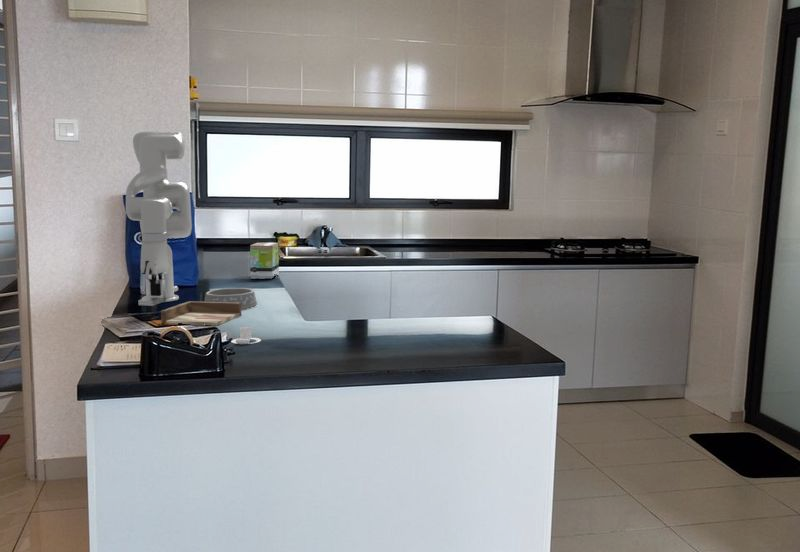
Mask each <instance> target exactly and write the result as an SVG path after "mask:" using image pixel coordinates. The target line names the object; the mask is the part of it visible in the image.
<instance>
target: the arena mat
mask: <svg viewBox="0 0 800 552" xmlns="http://www.w3.org/2000/svg"><path fill="white" fill-rule="evenodd" d="M239 315H240V314H239V313H226V312H195V311H191V312H189V313H186V314H183V315H180V316H178V317H175V318H172V319H170V320H167V321H166V323H182V324H191V325H190V326H205V325H211V327H217V326H219V325H222V324H225V323H226V322H229V321H231V320H234V319H236V318H238V317H240V316H239ZM160 322H161V323H164V322H162V321H160ZM204 324H205V325H204Z"/></svg>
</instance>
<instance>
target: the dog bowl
mask: <svg viewBox="0 0 800 552" xmlns="http://www.w3.org/2000/svg"><path fill="white" fill-rule="evenodd" d="M204 296H205V297H204V302H232V303H241V309H243V310H248V309H247V308H249V309H252V308H251V307H254V308H256V307H257V306H256V305H257V304H258V302H257V298H256V292H255V290H254V289H251V288H246V287H230V288H229V287H228V288H216V289H212V290H209V291H207V292H205V295H204ZM255 306H256V307H255Z"/></svg>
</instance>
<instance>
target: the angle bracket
mask: <svg viewBox="0 0 800 552" xmlns="http://www.w3.org/2000/svg"><path fill="white" fill-rule="evenodd" d="M159 283H160V294H161V295H160V296H151V290H150V283H149V280H148V286H149V297H147V298H144V299H142V298H141V299H139V300H138V306H148V307H149V306H150V307H151V306H152V307H153V306H156V305H158V304H161V303H166V302H165V301H166V293H165V280H162V279H159Z"/></svg>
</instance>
